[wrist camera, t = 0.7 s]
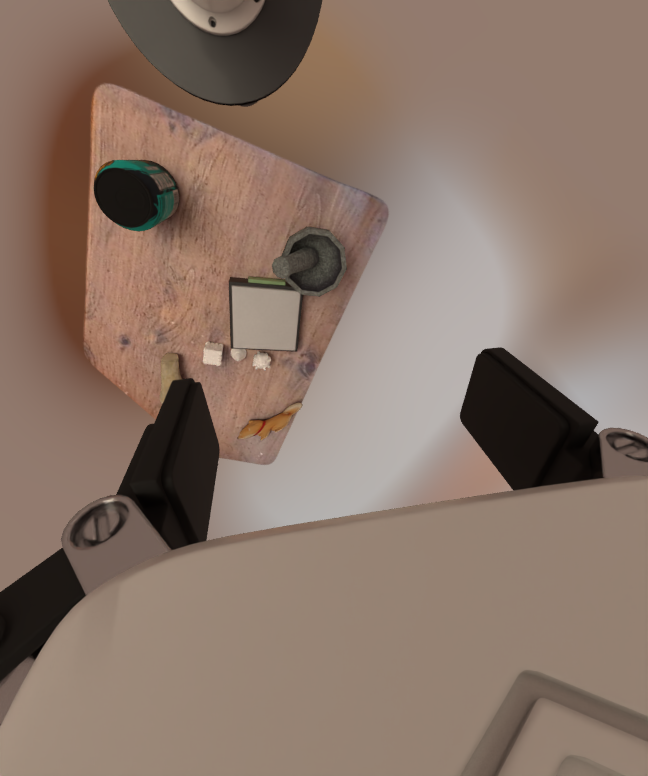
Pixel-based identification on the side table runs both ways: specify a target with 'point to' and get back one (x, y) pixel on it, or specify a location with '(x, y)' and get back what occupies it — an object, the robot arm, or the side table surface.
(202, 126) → the side table surface
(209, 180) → the side table surface
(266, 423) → the toy
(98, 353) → the side table surface
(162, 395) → the tan bone
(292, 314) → the scale
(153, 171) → the beverage can
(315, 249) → the mortar and pestle
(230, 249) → the side table surface
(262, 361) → the game pieces
